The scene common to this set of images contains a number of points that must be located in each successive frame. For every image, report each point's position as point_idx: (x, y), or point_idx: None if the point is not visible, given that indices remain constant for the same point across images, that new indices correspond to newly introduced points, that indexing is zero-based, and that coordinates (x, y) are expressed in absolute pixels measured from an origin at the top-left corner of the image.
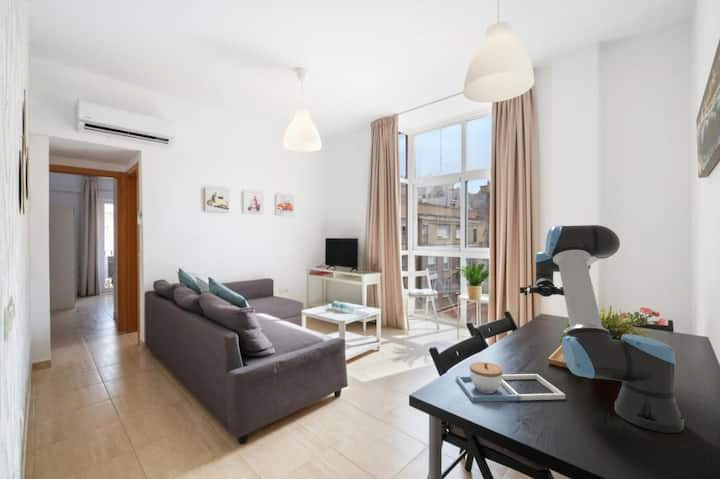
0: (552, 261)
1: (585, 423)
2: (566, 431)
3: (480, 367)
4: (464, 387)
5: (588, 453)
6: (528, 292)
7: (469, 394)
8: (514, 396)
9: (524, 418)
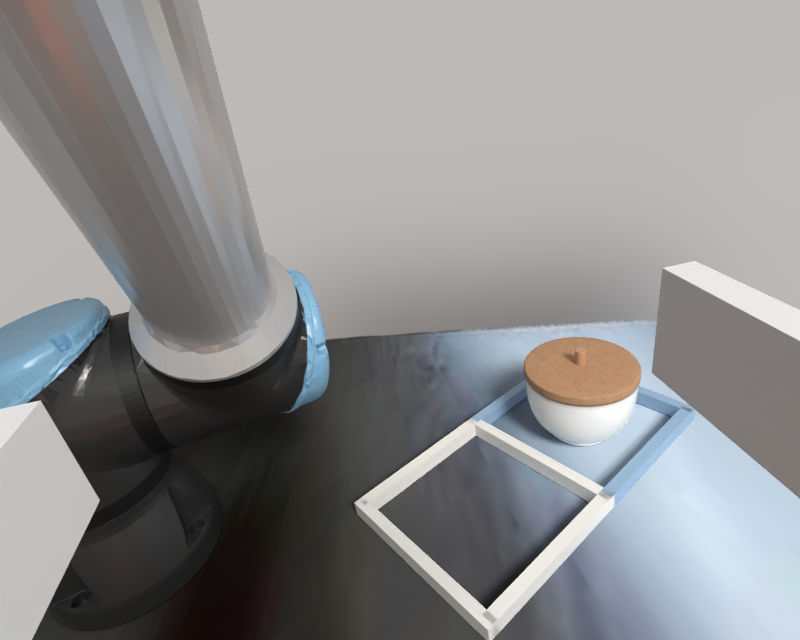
0: None
1: (314, 431)
2: (353, 388)
3: (589, 352)
4: None
5: None
6: (672, 299)
7: None
8: (480, 412)
9: (434, 379)
